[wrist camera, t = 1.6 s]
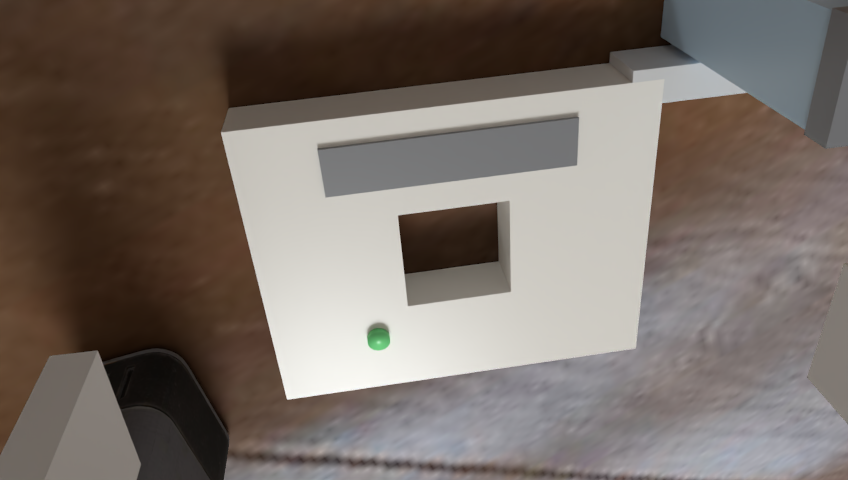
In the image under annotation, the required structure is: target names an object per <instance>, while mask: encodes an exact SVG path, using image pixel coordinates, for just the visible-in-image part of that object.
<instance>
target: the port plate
mask: <svg viewBox="0 0 848 480" xmlns="http://www.w3.org/2000/svg"><path fill="white" fill-rule="evenodd" d="M664 80H665V79H661V80H653V81H644V82H636V83H632V82H631V81H630V80H629V79H627V78H626V77H625V76H624V75H623V74H622V73H620V72H619V71H618V70H617V69H616V68H614V67H613V66H612V65H611V64H610V63H606V64H597V65H589V66H581V67H572V68H564V69H555V70H547V71H538V72H530V73H521V74H513V75H504V76H496V77H488V78H479V79H471V80H462V81H454V82H445V83H437V84H428V85H420V86H411V87H403V88H395V89H386V90H378V91H369V92H361V93H352V94H344V95H335V96H327V97H318V98H310V99H302V100H293V101H285V102H276V103H268V104H259V105H251V106H242V107H234V108H228V112H227V115H226V118H225V121H224V124H223V128H222V131H221V135H222V139H223V143H224V147H225V151H226V155H227V159H228V163H229V167H230V171H231V175H232V179H233V183H234V187H235V191H236V195H237V199H238V203H239V207H240V211H241V215H242V219H243V223H244V227H245V232H246V236H247V240H248V244H249V248H250V252H251V256H252V260H253V264H254V268H255V272H256V276H257V280H258V284H259V288H260V292H261V296H262V300H263V304H264V308H265V312H266V316H267V320H268V324H269V328H270V332H271V336H272V340H273V344H274V349H275V353H276V357H277V361H278V365H279V369H280V373H281V377H282V381H283V385H284V389H285V393H286V397H287V400H289V399H295V398H302V397H309V396H316V395H323V394H329V393H336V392H343V391H350V390H357V389H363V388H370V387H377V386H384V385H391V384H397V383H404V382H411V381H418V380H425V379H431V378H438V377H445V376H452V375H458V374H465V373H472V372H479V371H486V370H492V369H499V368H506V367H513V366H520V365H526V364H533V363H540V362H547V361H554V360H560V359H567V358H574V357H581V356H588V355H594V354H601V353H608V352H615V351H622V350H628V349H635V348H636V340H637V331H638V322H639V312H640V303H641V294H642V284H643V275H644V266H645V256H646V247H647V238H648V228H649V219H650V210H651V201H652V191H653V182H654V173H655V163H656V154H657V145H658V135H659V126H660V117H661V107H662V98H663V89H664ZM496 202H497V216H498V256H499V261H497V262H490V263H482V264H475V265H468V266H461V267H453V268H446V269H439V270H431V271H424V272H417V273H409V274H404V267H403V258H402V249H401V240H400V231H399V222H398V215H404V214H412V213H420V212H427V211H435V210H443V209H450V208H458V207H466V206H473V205H481V204H488V203H496Z"/></svg>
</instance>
